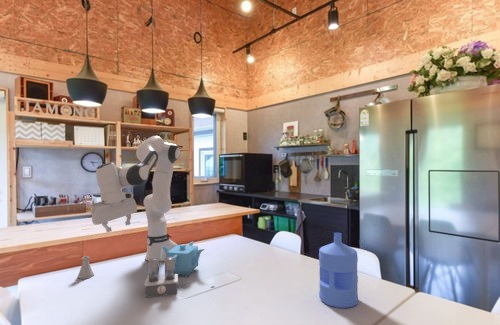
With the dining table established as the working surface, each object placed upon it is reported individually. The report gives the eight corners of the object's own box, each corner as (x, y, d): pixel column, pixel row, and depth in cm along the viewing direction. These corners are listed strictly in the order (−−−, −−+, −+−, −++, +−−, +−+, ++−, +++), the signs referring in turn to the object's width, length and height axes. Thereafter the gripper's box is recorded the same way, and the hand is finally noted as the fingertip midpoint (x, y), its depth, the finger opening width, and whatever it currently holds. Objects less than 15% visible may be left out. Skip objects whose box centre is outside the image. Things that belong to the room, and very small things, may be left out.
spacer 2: (171, 275, 132) (171, 256, 132) (176, 278, 129) (176, 258, 129) (163, 278, 129) (162, 258, 129) (168, 281, 126) (167, 260, 126)
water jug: (328, 288, 130) (327, 227, 131) (363, 298, 120) (362, 232, 121) (312, 301, 118) (312, 234, 119) (350, 313, 108) (349, 240, 109)
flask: (74, 277, 145) (74, 258, 145) (88, 273, 151) (88, 254, 151) (83, 280, 141) (83, 260, 141) (96, 275, 148) (96, 256, 148)
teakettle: (171, 282, 138) (171, 252, 138) (160, 270, 154) (160, 243, 154) (207, 274, 149) (206, 246, 149) (193, 263, 164) (192, 238, 164)
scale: (177, 285, 134) (177, 273, 134) (178, 294, 126) (177, 281, 126) (146, 289, 131) (146, 277, 131) (144, 298, 122) (144, 285, 122)
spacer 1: (155, 277, 130) (155, 257, 131) (160, 279, 128) (160, 259, 128) (146, 280, 127) (146, 259, 127) (151, 282, 124) (151, 262, 125)
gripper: (93, 203, 118) (100, 236, 118) (135, 192, 135) (142, 221, 135) (85, 204, 121) (92, 236, 121) (127, 194, 138) (133, 221, 139)
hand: (119, 228), depth 128 cm, fingers open, 8 cm apart
